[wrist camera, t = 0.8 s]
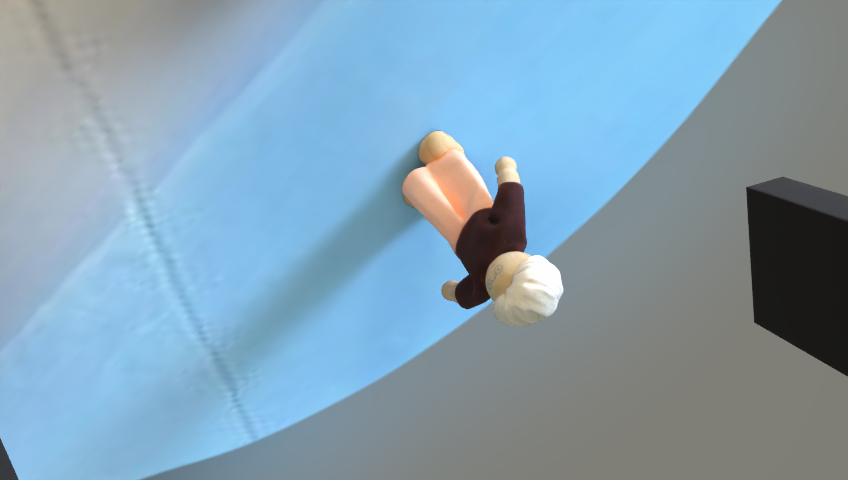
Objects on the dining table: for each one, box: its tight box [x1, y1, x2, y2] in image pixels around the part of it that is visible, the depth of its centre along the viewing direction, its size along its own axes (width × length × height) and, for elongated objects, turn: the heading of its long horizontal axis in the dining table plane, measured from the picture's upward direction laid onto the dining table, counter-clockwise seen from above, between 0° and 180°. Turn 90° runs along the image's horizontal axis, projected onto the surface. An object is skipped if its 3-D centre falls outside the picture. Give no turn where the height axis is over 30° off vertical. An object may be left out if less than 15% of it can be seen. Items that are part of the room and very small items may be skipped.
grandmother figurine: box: [402, 131, 563, 327], centre depth 37 cm, size 8×4×13 cm, turn 169°
